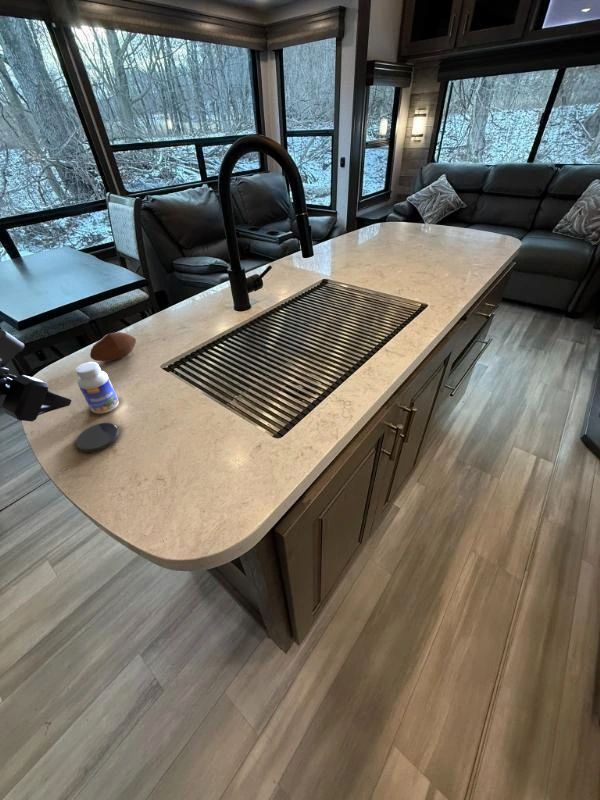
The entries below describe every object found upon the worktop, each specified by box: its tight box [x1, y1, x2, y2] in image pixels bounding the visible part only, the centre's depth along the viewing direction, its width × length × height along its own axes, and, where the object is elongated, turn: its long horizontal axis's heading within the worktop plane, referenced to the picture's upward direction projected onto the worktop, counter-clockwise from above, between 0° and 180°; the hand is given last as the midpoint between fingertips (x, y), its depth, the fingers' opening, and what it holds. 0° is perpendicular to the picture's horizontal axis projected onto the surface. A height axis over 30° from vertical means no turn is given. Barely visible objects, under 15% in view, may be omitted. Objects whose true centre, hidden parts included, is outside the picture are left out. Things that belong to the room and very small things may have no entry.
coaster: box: [75, 422, 120, 453], centre depth 62 cm, size 7×7×1 cm
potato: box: [89, 331, 137, 362], centre depth 84 cm, size 6×12×6 cm, turn 141°
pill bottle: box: [75, 361, 119, 414], centre depth 67 cm, size 5×5×10 cm
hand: (54, 395), depth 60 cm, fingers open, 9 cm apart
